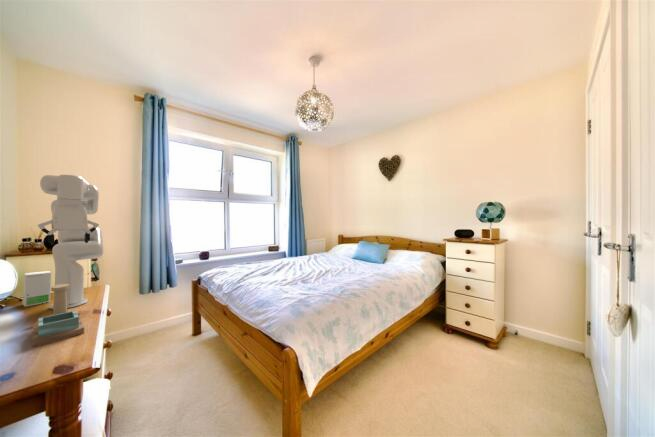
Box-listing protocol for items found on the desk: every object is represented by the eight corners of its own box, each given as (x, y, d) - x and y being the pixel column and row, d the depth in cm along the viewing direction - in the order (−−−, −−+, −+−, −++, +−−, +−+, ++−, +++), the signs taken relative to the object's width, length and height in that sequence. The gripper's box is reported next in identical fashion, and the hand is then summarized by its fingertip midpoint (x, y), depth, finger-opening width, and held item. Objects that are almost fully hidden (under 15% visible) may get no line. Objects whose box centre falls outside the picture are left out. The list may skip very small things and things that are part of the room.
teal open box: (32, 333, 86) (33, 317, 86) (79, 322, 95) (79, 308, 95) (32, 346, 77) (32, 329, 77) (83, 333, 87) (84, 317, 87)
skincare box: (24, 307, 110) (24, 275, 110) (22, 304, 113) (22, 273, 113) (51, 302, 117) (51, 271, 117) (48, 299, 120) (49, 270, 120)
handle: (49, 325, 92) (49, 288, 92) (52, 320, 97) (53, 285, 97) (67, 321, 96) (67, 286, 96) (69, 316, 100) (70, 283, 100)
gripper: (97, 205, 107) (96, 241, 107) (37, 203, 93) (37, 244, 93) (100, 204, 102) (100, 242, 102) (38, 202, 88) (37, 246, 88)
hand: (70, 243), depth 97 cm, fingers open, 9 cm apart
